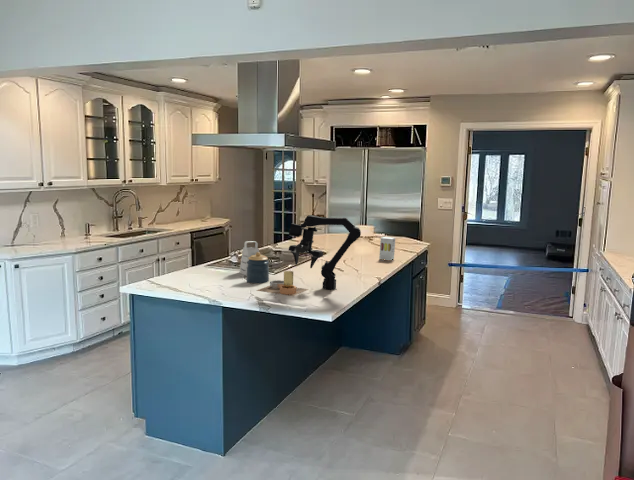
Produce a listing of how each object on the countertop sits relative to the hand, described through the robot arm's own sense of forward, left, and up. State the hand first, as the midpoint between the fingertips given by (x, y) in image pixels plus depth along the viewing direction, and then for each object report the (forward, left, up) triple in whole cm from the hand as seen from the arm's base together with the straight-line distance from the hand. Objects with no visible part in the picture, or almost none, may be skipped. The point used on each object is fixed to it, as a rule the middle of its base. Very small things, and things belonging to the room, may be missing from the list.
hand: (303, 266), depth 281 cm
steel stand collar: (+11, +8, -12) cm, 18 cm away
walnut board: (+6, +11, -13) cm, 18 cm away
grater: (+46, -19, -13) cm, 52 cm away
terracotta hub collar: (+1, +15, -12) cm, 19 cm away
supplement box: (-10, -120, -13) cm, 121 cm away
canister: (+29, 0, -13) cm, 32 cm away
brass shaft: (+1, +15, -12) cm, 19 cm away
